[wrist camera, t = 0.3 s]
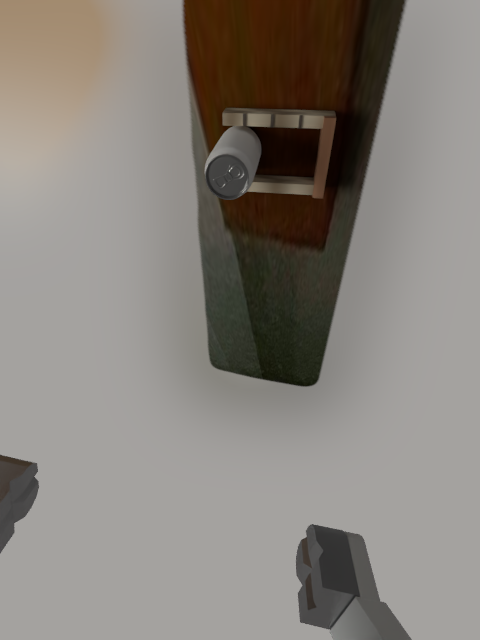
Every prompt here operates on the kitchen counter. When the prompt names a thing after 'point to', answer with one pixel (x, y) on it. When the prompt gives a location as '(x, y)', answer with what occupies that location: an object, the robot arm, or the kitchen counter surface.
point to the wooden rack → (289, 120)
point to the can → (233, 163)
